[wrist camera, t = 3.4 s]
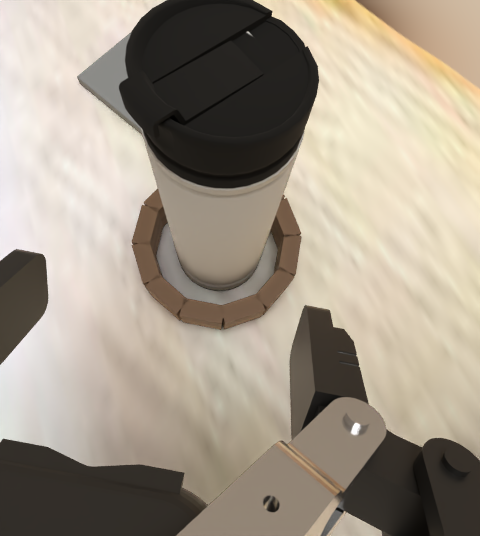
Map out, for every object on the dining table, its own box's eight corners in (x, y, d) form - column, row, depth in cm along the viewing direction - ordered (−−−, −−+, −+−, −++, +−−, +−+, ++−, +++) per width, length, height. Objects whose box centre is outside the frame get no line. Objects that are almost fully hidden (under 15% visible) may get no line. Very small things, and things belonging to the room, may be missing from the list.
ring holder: (321, 246, 32) (331, 233, 30) (224, 360, 30) (225, 357, 27) (211, 158, 34) (211, 136, 31) (109, 258, 31) (99, 245, 28)
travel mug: (157, 247, 32) (68, 34, 12) (225, 198, 33) (239, -62, 14) (209, 311, 31) (198, 185, 11) (276, 257, 32) (369, 64, 13)
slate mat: (295, 78, 36) (297, 71, 36) (194, 177, 33) (194, 172, 33) (185, -4, 38) (184, -12, 37) (80, 83, 35) (77, 76, 34)
